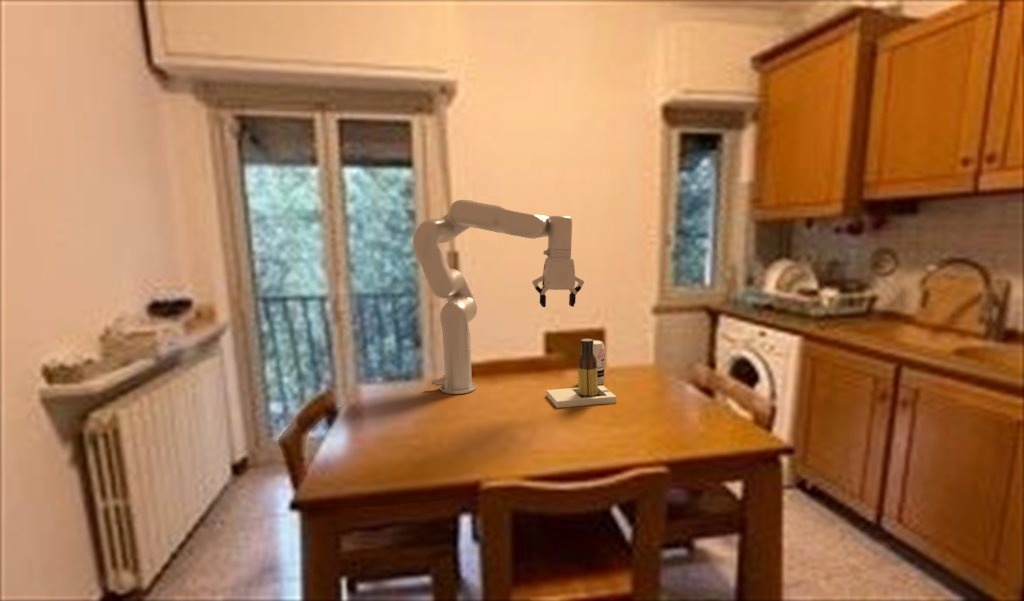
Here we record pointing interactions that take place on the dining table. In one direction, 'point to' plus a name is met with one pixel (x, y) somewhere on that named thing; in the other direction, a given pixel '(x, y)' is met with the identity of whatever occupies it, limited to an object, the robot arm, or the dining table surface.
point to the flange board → (571, 397)
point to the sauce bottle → (587, 370)
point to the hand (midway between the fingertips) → (557, 306)
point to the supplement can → (599, 359)
